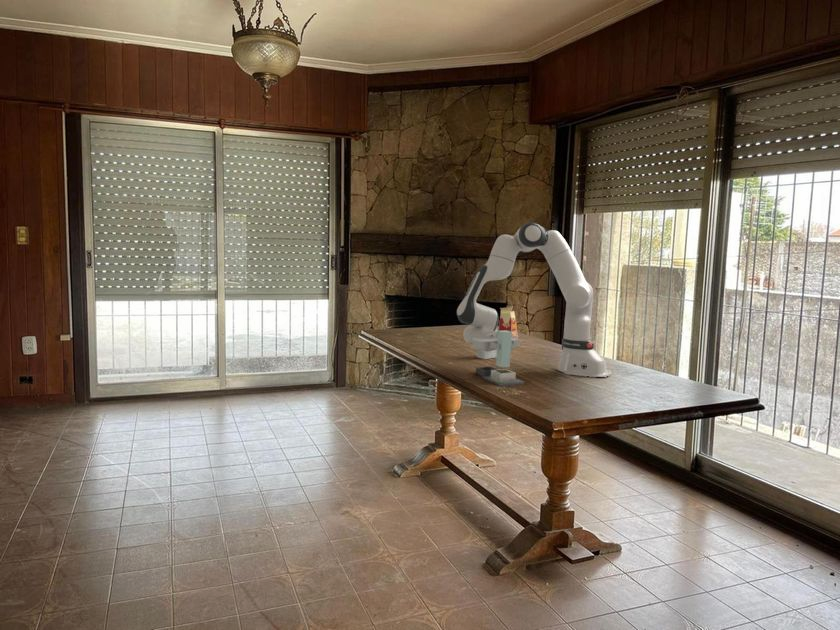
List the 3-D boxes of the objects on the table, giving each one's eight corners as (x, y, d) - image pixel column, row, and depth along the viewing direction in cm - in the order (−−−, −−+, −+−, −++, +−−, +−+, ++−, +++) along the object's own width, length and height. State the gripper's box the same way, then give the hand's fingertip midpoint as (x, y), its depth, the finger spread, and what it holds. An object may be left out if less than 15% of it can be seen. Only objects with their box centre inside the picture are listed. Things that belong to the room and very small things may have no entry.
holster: (475, 373, 266) (476, 367, 266) (490, 372, 269) (490, 366, 269) (484, 377, 260) (484, 371, 260) (499, 375, 263) (499, 370, 263)
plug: (495, 365, 254) (497, 330, 252) (504, 364, 256) (506, 330, 254) (501, 367, 250) (503, 332, 249) (509, 366, 252) (511, 332, 250)
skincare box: (488, 355, 305) (489, 325, 303) (497, 357, 301) (498, 326, 299) (475, 357, 300) (476, 326, 298) (484, 359, 295) (486, 328, 294)
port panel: (482, 378, 258) (482, 368, 257) (505, 376, 262) (505, 366, 262) (499, 386, 245) (500, 376, 245) (524, 384, 250) (524, 374, 249)
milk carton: (517, 342, 345) (519, 305, 343) (510, 344, 338) (512, 307, 335) (502, 340, 350) (504, 304, 347) (495, 342, 342) (496, 305, 340)
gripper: (465, 333, 259) (482, 339, 247) (508, 332, 267) (527, 338, 255) (465, 349, 260) (481, 355, 247) (508, 347, 268) (526, 353, 256)
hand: (505, 346), depth 251 cm, fingers closed on plug, 4 cm apart
